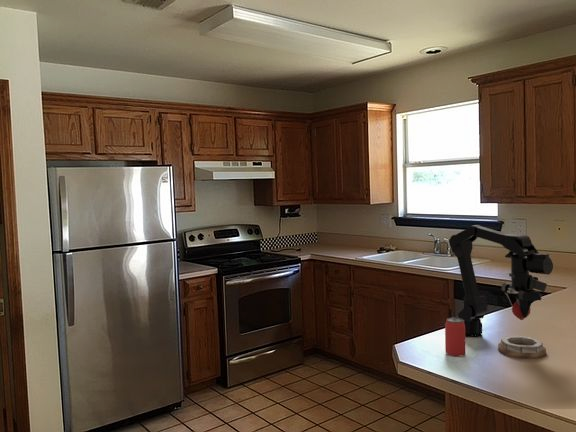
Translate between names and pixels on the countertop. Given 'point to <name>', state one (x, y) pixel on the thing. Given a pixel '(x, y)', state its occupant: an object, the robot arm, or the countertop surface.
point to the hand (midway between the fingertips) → (520, 315)
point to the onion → (518, 311)
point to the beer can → (455, 337)
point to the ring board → (522, 355)
